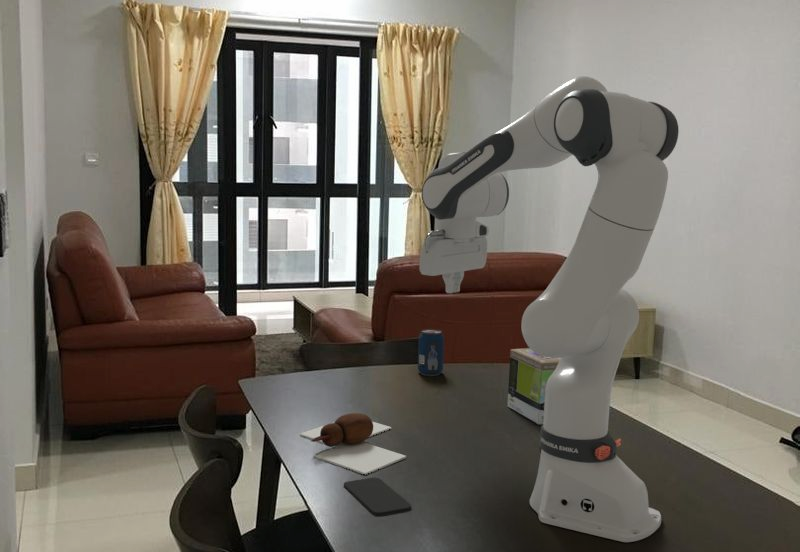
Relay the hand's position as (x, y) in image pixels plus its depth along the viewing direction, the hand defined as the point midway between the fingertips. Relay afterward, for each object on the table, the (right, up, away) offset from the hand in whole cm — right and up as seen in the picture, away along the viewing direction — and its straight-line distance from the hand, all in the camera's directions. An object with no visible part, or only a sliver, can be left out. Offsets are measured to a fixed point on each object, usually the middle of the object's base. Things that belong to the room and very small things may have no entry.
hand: (452, 292), depth 184 cm
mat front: (-23, -31, +2) cm, 38 cm away
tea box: (+22, -30, +18) cm, 41 cm away
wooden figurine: (-18, -28, -3) cm, 33 cm away
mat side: (-19, -33, -13) cm, 40 cm away
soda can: (-3, -24, +52) cm, 57 cm away
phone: (-16, -37, -32) cm, 51 cm away
